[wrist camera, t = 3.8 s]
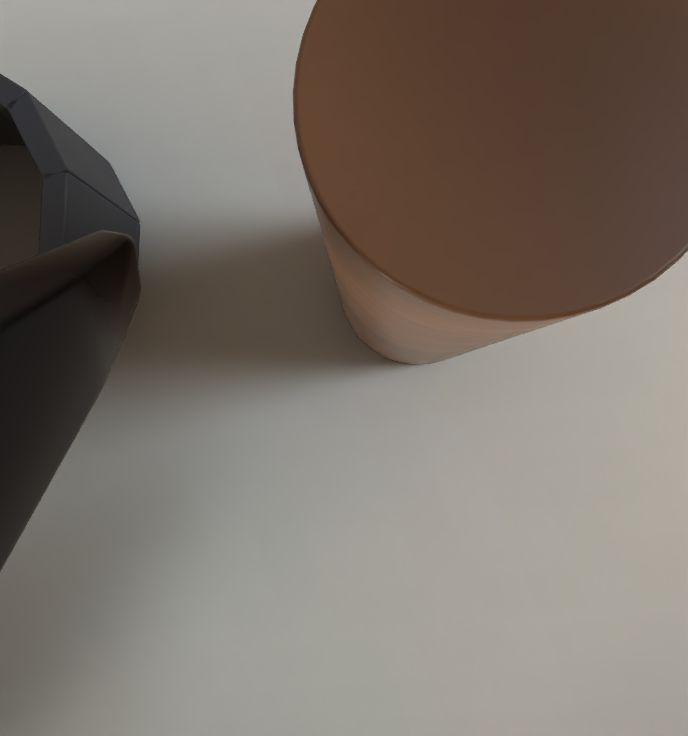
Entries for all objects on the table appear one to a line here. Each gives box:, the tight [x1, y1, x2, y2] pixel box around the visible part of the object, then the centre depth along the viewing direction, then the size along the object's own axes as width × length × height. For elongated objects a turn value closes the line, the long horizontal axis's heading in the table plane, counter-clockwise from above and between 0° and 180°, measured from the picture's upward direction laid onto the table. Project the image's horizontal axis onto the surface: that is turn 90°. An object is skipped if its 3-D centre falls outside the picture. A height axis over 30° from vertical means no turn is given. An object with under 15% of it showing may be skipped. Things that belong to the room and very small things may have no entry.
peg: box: [293, 0, 688, 364], centre depth 12 cm, size 4×4×12 cm
